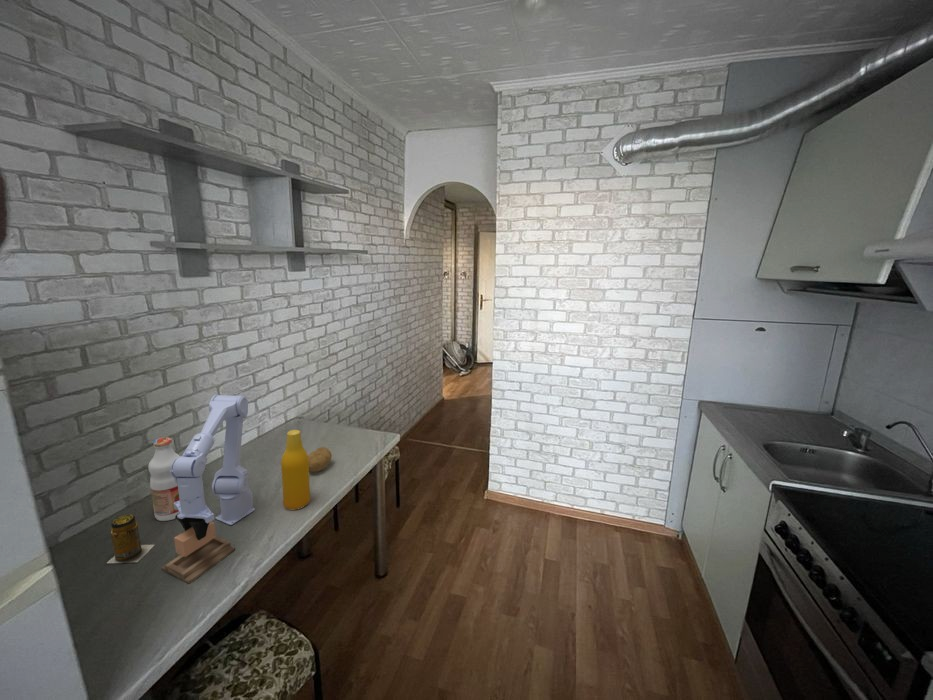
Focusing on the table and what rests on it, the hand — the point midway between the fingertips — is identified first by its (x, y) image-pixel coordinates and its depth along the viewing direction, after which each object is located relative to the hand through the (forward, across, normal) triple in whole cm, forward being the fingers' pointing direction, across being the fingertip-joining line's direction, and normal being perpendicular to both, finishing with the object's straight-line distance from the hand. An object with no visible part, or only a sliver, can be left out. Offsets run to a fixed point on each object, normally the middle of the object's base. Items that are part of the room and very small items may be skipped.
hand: (196, 535), depth 112 cm
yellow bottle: (+9, +5, +33) cm, 34 cm away
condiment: (+9, -20, -7) cm, 23 cm away
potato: (+9, -5, +55) cm, 56 cm away
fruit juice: (+9, -29, +10) cm, 32 cm away
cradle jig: (+8, 0, 0) cm, 8 cm away
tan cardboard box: (+3, 0, 0) cm, 3 cm away
